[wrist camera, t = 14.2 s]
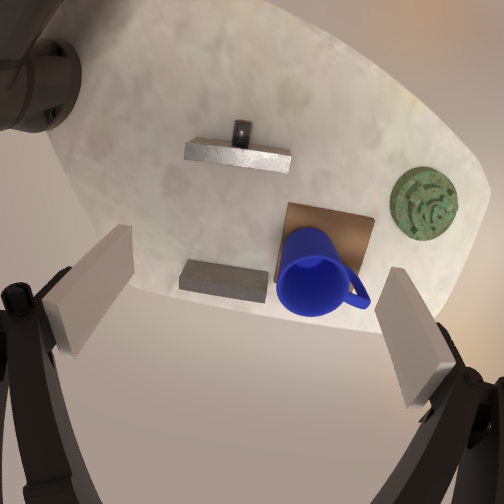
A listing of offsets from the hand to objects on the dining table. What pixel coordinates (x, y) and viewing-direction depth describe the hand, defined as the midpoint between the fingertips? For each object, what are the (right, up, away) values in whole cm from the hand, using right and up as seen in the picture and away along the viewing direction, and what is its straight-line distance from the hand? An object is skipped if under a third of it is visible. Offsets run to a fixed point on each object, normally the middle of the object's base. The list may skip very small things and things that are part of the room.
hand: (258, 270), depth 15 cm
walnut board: (+10, +1, +29) cm, 30 cm away
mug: (+9, +1, +28) cm, 29 cm away
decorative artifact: (+24, +8, +24) cm, 35 cm away
